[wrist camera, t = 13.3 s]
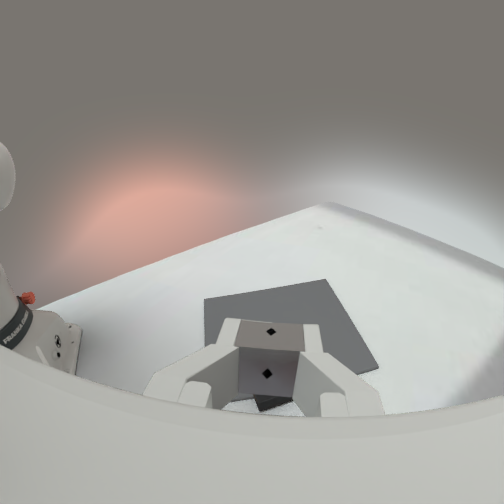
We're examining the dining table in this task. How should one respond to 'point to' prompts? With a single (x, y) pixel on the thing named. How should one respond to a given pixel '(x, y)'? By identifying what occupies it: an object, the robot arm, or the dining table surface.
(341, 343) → the slate mat
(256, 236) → the dining table surface
